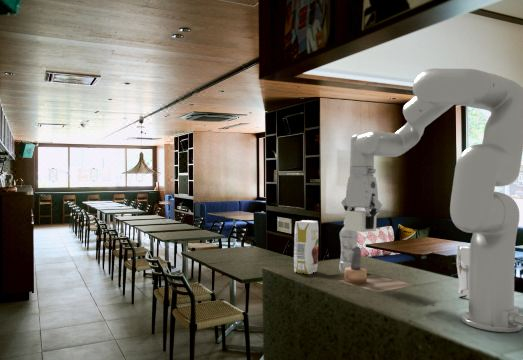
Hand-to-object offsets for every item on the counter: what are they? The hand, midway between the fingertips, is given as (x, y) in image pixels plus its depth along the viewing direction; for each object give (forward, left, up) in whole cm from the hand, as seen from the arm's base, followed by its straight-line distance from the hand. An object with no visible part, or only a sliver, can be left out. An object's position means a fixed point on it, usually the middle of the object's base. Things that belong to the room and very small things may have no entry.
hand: (360, 227), depth 139 cm
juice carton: (+26, -1, -19) cm, 33 cm away
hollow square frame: (0, 0, -1) cm, 1 cm away
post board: (-4, -4, -19) cm, 20 cm away
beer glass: (-27, -18, -19) cm, 37 cm away
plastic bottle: (+15, -12, -19) cm, 27 cm away
